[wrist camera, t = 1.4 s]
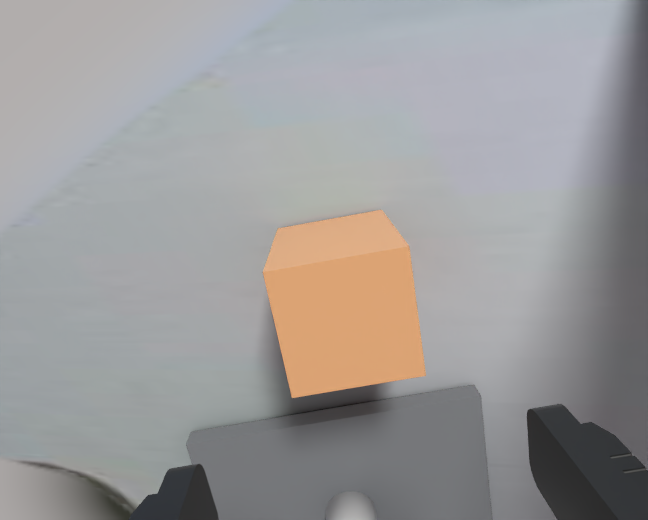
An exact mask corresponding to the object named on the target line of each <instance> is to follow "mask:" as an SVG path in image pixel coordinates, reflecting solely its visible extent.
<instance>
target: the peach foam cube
mask: <svg viewBox="0 0 648 520" xmlns="http://www.w3.org/2000/svg"><path fill="white" fill-rule="evenodd" d="M263 275H264V279H265V284H266V288H267V292H268V297H269V301H270V305H271V310H272V314H273V318H274V323H275V327H276V331H277V336H278V340H279V344H280V348H281V353H282V357H283V361H284V366H285V370H286V374H287V379H288V383H289V387H290V392H291V396H292V398H296V397H302V396H308V395H314V394H320V393H326V392H332V391H338V390H344V389H349V388H355V387H361V386H367V385H373V384H379V383H385V382H391V381H397V380H403V379H409V378H415V377H421V376H426V373H425V365H424V357H423V349H422V342H421V334H420V326H419V319H418V311H417V303H416V296H415V288H414V280H413V272H412V265H411V257H410V249H409V245H408V244H407V243H406V241H405V240H404V239H403V237H402V236H401V235H400V233H399V232H398V231H397V229H396V228H395V227H394V225H393V224H392V223H391V221H390V220H389V219H388V217H387V216H386V215H385V213H384V212H383V211H382V210H377V211H372V212H366V213H361V214H355V215H350V216H344V217H339V218H333V219H328V220H322V221H317V222H311V223H306V224H300V225H294V226H289V227H283V228H278V229H277V232H276V235H275V238H274V241H273V244H272V247H271V250H270V253H269V256H268V259H267V262H266V264H265V267H264V270H263Z"/></svg>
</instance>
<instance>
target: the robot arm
mask: <svg viewBox="0 0 648 520" xmlns="http://www.w3.org/2000/svg"><path fill="white" fill-rule="evenodd" d="M527 426H528V443H529V460H530V467H531V471H532V474H533V477H534V480H535V482H536V485H537V487H538V489H539V490H540V492H541V494H542V495H543V497H544V499H545V500H546V502H547V503H548V505H549V507H550V508H551V510H552V511H553V513H554V515H555V516H556V518H557V519H558V520H648V471H647V470H646V468H645V466H644V465H643V464H642V463H641V462H640V461H639V460H638V459H637V458H636V457H635V456H632V454H631V452H630V451H629V450H628V449H627V448H626V447H625V446H624V445H623V444H622V443H621V441H620V440H619V439H618V438H617V437H616V436H615V435H613V434H611V433H610V432H608V431H606V430H604V429H603V428H601V427H599V426H597V425H595V424H594V423H592V422H589V423H583V424H580V423H579V422H578V421H577V420H576V418H575V417H574V416H573V415H572V414H571V413H570V412H569V411H568V409H567V408H566V407H565V406H563V405H562V404H557V405H551V406H545V407H539V408H533V409H529V410H528V412H527ZM129 520H219V518H218V512H217V509H216V506H215V502H214V499H213V496H212V493H211V490H210V486H209V483H208V480H207V477H206V473H205V470H204V468H203V466H202V465H201V464H195V465H189V466H183V467H177V468H171V469H169V470H168V471H167V473H166V475H165V477H164V480H163V482H162V484H161V487H160V489H159V492H158V494H152V495H148V496H147V497H146V498H145V499H144V500H143V502H142V503H141V504H140V505H139V506H138V507H137V508H136V510H135V511H134V512H133V513H132V514H131V516H130V518H129Z"/></svg>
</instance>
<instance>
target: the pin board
mask: <svg viewBox="0 0 648 520" xmlns="http://www.w3.org/2000/svg"><path fill="white" fill-rule="evenodd" d="M186 446H187V449H188V452H189V455H190V459H191V462H192V465H195V464H201V465H202V466H203V468H204V470H205V473H206V477H207V480H208V483H209V486H210V490H211V493H212V496H213V499H214V502H215V506H216V509H217V512H218V518H219V520H492V513H491V502H490V491H489V480H488V469H487V458H486V447H485V436H484V425H483V414H482V403H481V395H480V394H479V392H478V390H477V389H476V387H475V385H469V386H463V387H457V388H451V389H445V390H439V391H433V392H427V393H421V394H415V395H409V396H403V397H397V398H391V399H385V400H379V401H373V402H367V403H361V404H355V405H349V406H343V407H337V408H331V409H325V410H319V411H313V412H307V413H301V414H295V415H289V416H283V417H277V418H271V419H265V420H259V421H253V422H247V423H241V424H235V425H229V426H223V427H217V428H211V429H205V430H199V431H193V432H191V433H190V436H189V438H188V441H187V443H186Z"/></svg>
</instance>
